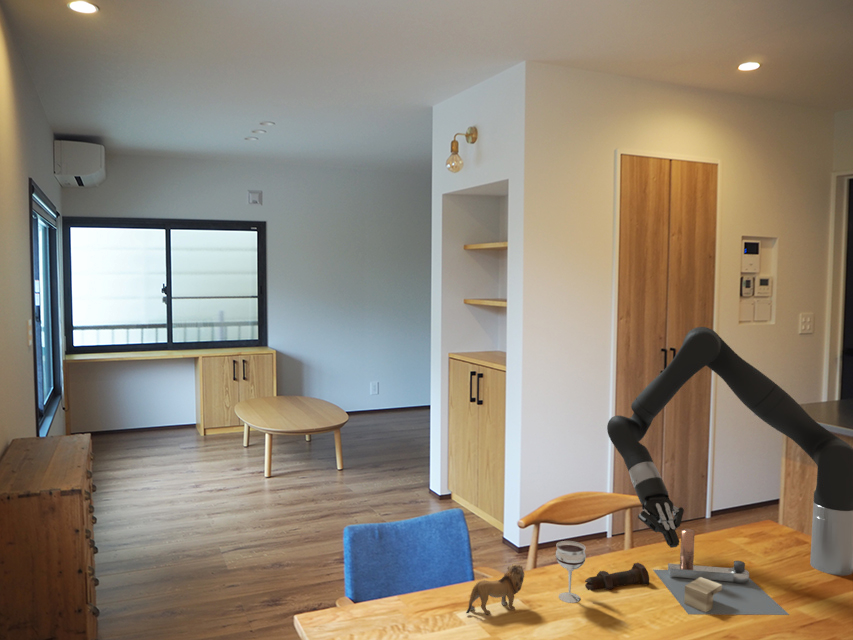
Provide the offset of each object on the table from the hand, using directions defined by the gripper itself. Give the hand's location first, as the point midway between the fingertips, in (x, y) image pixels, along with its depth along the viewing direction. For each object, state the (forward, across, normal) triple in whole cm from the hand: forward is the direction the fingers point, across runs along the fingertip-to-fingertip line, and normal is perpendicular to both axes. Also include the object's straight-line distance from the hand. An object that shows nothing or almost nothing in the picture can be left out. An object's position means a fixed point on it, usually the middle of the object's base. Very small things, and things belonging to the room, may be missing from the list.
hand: (675, 546), depth 169 cm
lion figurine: (+9, -50, +1) cm, 50 cm away
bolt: (+8, -19, +2) cm, 21 cm away
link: (+9, +5, -1) cm, 10 cm away
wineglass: (+9, -32, +1) cm, 33 cm away
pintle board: (+14, +2, -4) cm, 15 cm away
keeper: (+16, -5, -8) cm, 19 cm away
